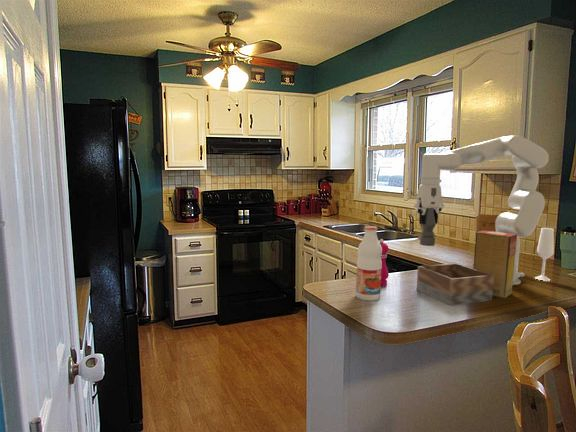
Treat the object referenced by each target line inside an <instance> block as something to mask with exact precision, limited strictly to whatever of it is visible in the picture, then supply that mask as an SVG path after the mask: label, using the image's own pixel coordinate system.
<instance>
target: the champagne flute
mask: <svg viewBox="0 0 576 432" xmlns="http://www.w3.org/2000/svg"><path fill="white" fill-rule="evenodd" d="M554 231H555V229H554V228H552V227H551V228H550V227H541V229H540V234H539V238H538V244H537V247H536V253H537V254H538V256H539V257H540V258H541V259H542V265H541V274H540V275H537V276H535V277H534V278H535V279H534V280H536V279H538V280H537V281H540V280H543V281H542V282H551V281H550V280H551V279H550V278H548V276H546V275H545V274H546V273H545V272H546V262H547V259H549V258H551V257H552V256H553V255H554V254H555V240H554V239H555V232H554Z"/></svg>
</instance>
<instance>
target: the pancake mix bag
mask: <svg viewBox="0 0 576 432" xmlns="http://www.w3.org/2000/svg"><path fill="white" fill-rule="evenodd" d="M499 215H500V214H485V213H483V214H482V213H480V214H478V215H476V216H475V235H476V233H477V232H479V231H484V230H485V231H493V232H496V228H495V222H496V219H497V217H498V216H499Z"/></svg>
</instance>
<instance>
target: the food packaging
mask: <svg viewBox="0 0 576 432" xmlns="http://www.w3.org/2000/svg"><path fill="white" fill-rule="evenodd" d="M516 242H517V234H509V233H501V232H493V231H485V230H484V231H479V232H477V233H476V234H475V245H474V254H473V255H474V256H473V257H474V258H473V267H472V268H473V269H476V270H479V271H482V272H485V273H488V274H491V275H494V283H493V295H492V297H495V296H496V297H495V298H501V299H507V297H509V296H511V295H512V293H513V286H514V285H513V273H514V262H515V252H516Z"/></svg>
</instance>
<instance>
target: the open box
mask: <svg viewBox="0 0 576 432" xmlns="http://www.w3.org/2000/svg"><path fill="white" fill-rule="evenodd" d="M473 268H474V267H470V266H467V265H464V264H460V263H457V262H455V263H443V264H431V265H430V264H429V265H419V266H417V274H416V275H417V277H416V291H419V292H421V293H424V294H425V295H428V296H429V297H432V298H434V299H436V300H437V301H440V302H442V303H445V304H447V305H449V306H455V305H456V306H457V305H465V304H473V303H481V302H483V303H484V302H491V301H492V300H493V296H492V295H493V283H494V275H491V274H488V273H485V272H482V271H479V270H476V269H473Z"/></svg>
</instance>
